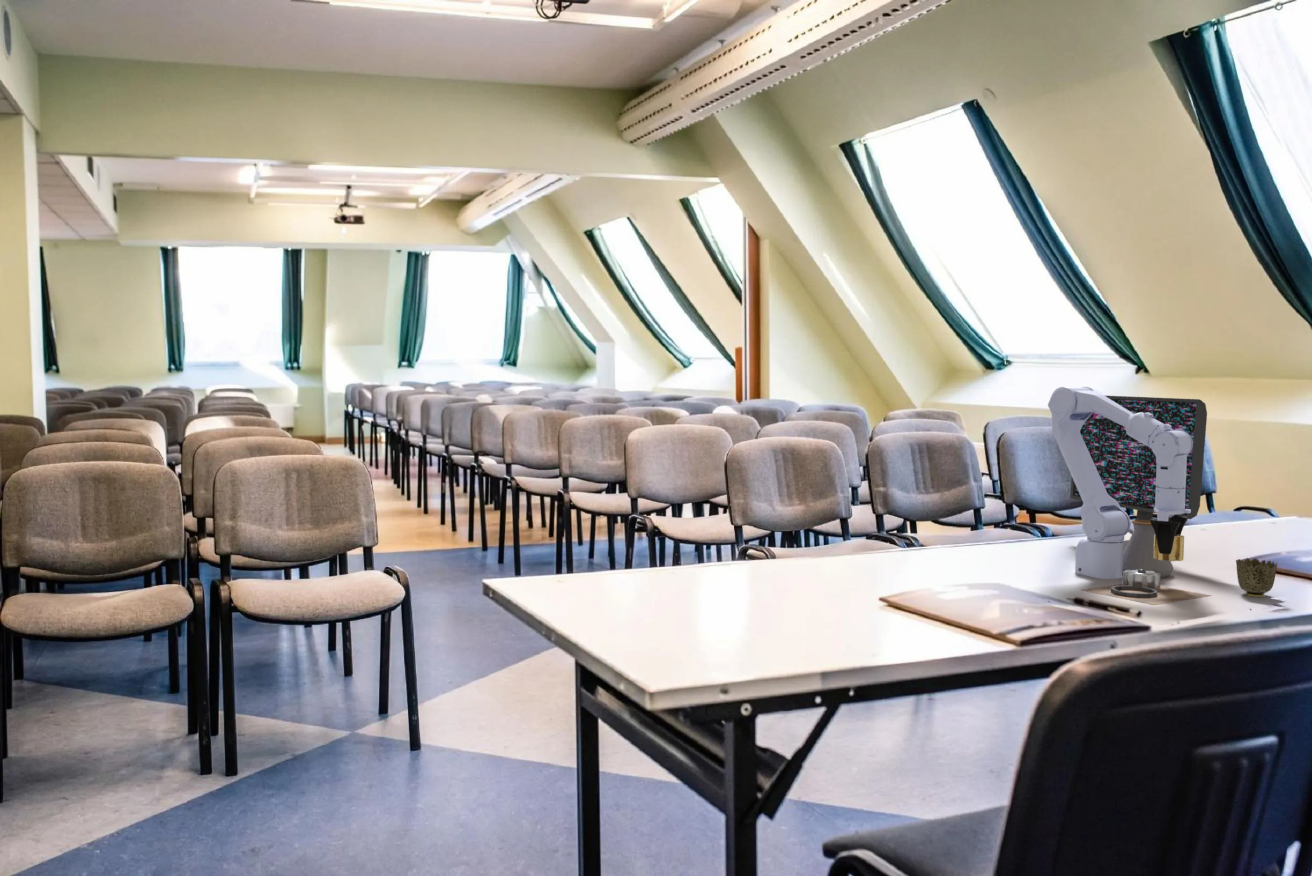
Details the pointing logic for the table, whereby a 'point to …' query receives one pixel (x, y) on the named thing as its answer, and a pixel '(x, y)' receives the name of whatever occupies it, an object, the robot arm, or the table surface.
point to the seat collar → (1150, 593)
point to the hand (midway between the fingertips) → (1168, 551)
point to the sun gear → (1141, 578)
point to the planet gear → (1176, 551)
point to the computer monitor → (1144, 453)
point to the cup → (1256, 576)
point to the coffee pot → (1143, 550)
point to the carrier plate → (1162, 597)
